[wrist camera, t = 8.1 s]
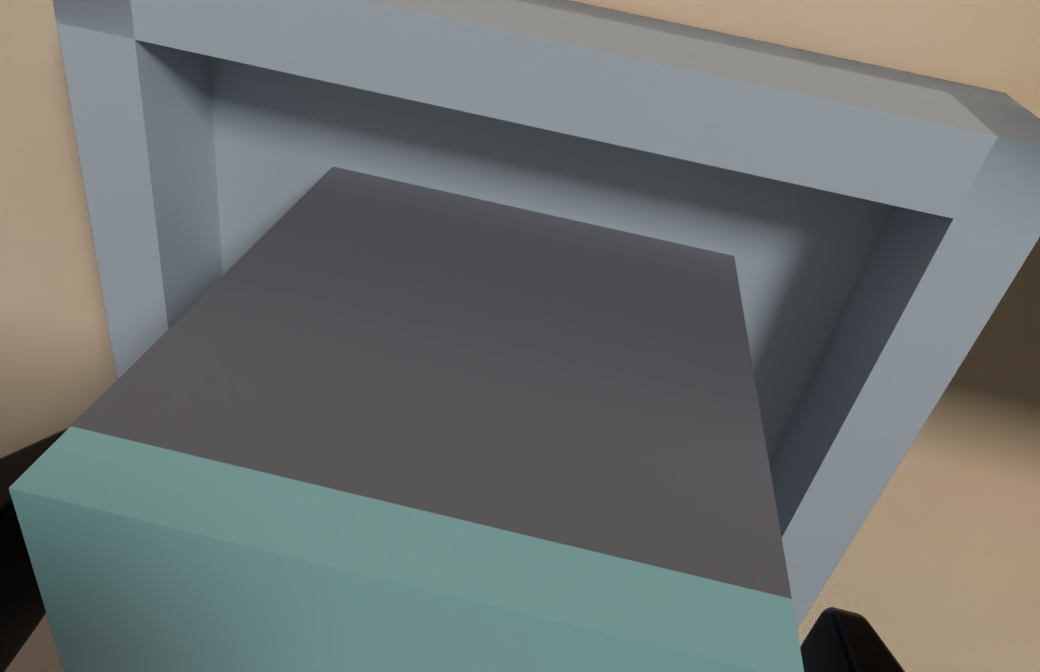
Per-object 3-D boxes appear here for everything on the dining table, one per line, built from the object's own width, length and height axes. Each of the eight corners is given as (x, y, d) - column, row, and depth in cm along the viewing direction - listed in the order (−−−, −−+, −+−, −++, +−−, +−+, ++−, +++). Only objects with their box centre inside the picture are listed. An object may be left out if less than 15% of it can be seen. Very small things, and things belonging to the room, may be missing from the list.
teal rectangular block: (602, 610, 13) (569, 1033, 8) (321, 542, 13) (139, 919, 9) (734, 256, 9) (805, 682, 5) (333, 166, 9) (10, 487, 5)
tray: (693, 685, 15) (697, 791, 13) (218, 568, 15) (163, 658, 14) (1004, 93, 8) (1088, 155, 7) (160, -88, 9) (40, -69, 7)
